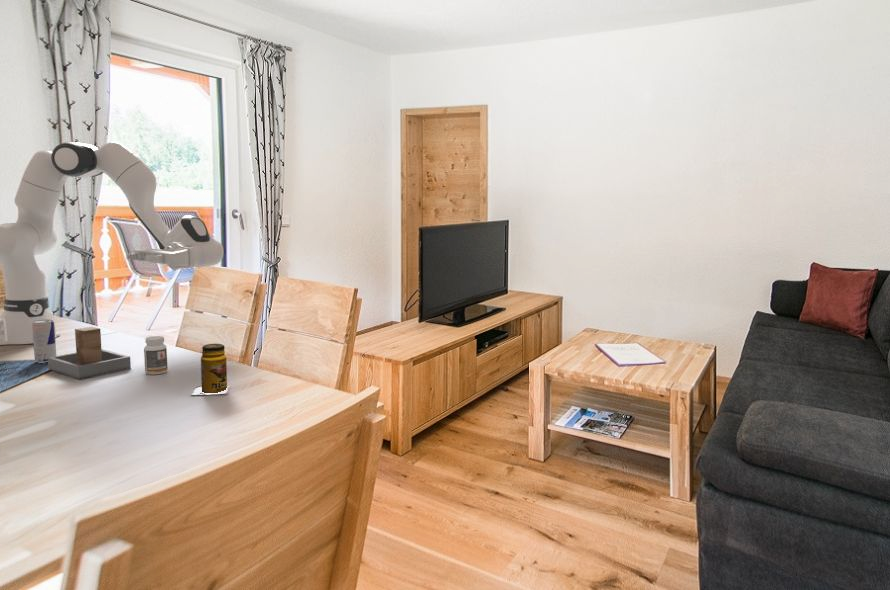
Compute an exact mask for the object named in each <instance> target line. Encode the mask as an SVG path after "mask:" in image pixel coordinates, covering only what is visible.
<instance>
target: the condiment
mask: <svg viewBox="0 0 890 590" xmlns="http://www.w3.org/2000/svg"><path fill="white" fill-rule="evenodd" d="M225 348H226V347H225V345H224V344H222V343H208V344H204V345H203V346H202V348H201V349H202V351H201V357H200V374H201V375H200V379H201V385H200V386H201V387H202V392H204V393H218V392H221V391H224V390H226V388H227V386H228V373H227V372H228V368H227V367H228V366H227V355H226V354H225V353H226V351H225ZM200 386H198V387H200Z"/></svg>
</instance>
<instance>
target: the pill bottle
mask: <svg viewBox="0 0 890 590" xmlns="http://www.w3.org/2000/svg"><path fill="white" fill-rule="evenodd" d="M144 339H145V341H144V343H145V344H146V345H145V346H144V347H143V348H144V349H143V353H144V354H143V355H144V371H145V373H146V374H147V375H151V376H152V375H153V376H156V375H163V374H165V373H167V372H168V371H169V370H168V369H169V368H168V367H169V365H168V349H167V346H166V344H164V343H165V337H164V336H162V335H154V336H147V337H145V338H144Z"/></svg>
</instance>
